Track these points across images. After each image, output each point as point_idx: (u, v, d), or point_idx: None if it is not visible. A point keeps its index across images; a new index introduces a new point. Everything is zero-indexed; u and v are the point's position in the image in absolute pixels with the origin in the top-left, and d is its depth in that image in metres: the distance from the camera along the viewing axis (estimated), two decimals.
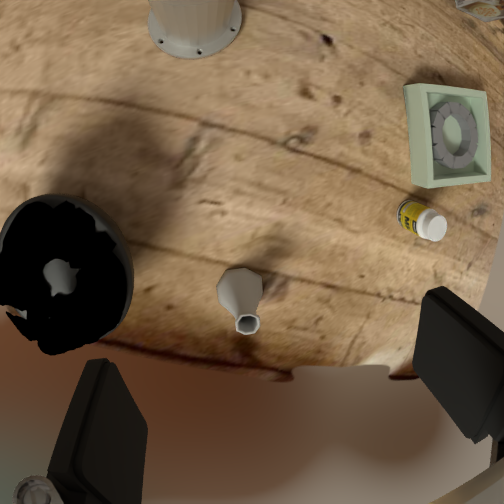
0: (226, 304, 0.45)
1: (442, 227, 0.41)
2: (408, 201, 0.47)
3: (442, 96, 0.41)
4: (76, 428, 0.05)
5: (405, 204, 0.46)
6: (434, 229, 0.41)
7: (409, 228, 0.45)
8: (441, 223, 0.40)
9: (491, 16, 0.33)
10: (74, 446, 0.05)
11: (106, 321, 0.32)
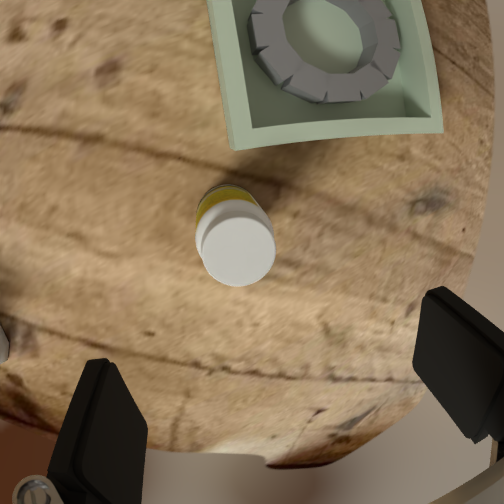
0: None
1: (256, 249, 0.17)
2: (218, 187, 0.23)
3: None
4: (76, 428, 0.05)
5: (207, 194, 0.23)
6: (227, 256, 0.17)
7: None
8: (252, 239, 0.17)
9: None
10: (74, 446, 0.05)
11: None
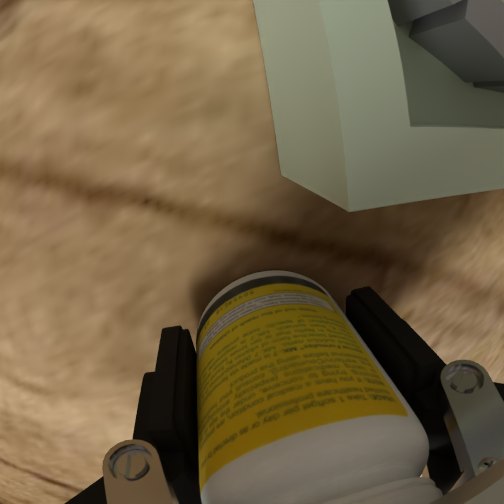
0: None
1: None
2: (252, 284, 0.09)
3: None
4: (169, 387, 0.06)
5: (223, 306, 0.08)
6: None
7: None
8: None
9: None
10: (172, 403, 0.06)
11: None
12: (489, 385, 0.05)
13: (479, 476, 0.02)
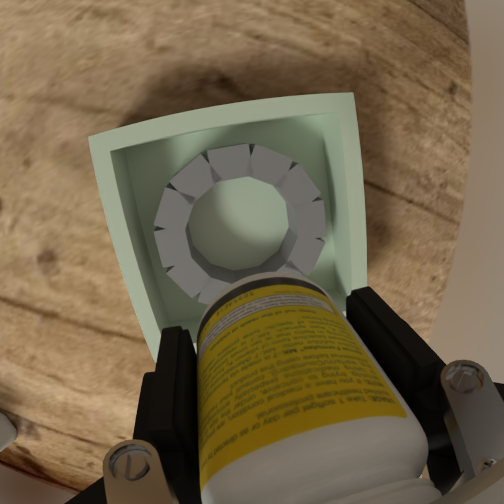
0: None
1: None
2: (252, 285, 0.09)
3: (217, 132, 0.20)
4: (169, 387, 0.06)
5: (223, 307, 0.08)
6: None
7: None
8: None
9: None
10: (172, 403, 0.06)
11: None
12: (489, 385, 0.05)
13: (479, 476, 0.02)
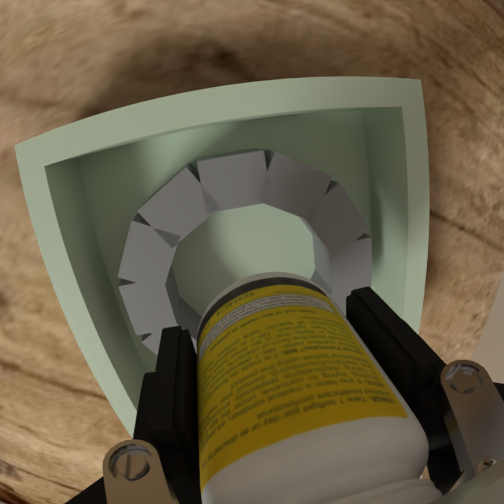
0: None
1: None
2: (252, 285, 0.09)
3: (214, 131, 0.13)
4: (169, 387, 0.06)
5: (223, 307, 0.08)
6: None
7: None
8: None
9: None
10: (173, 402, 0.06)
11: None
12: (489, 386, 0.05)
13: (479, 476, 0.02)
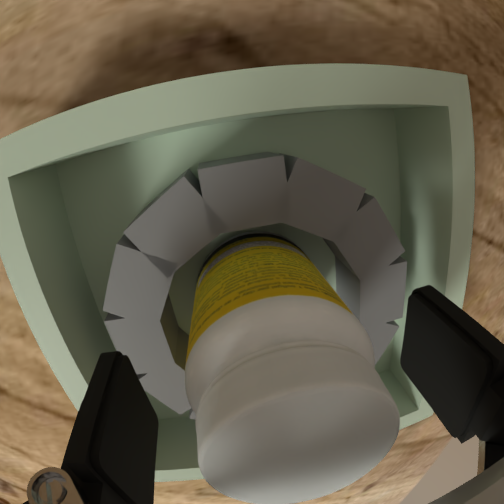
0: None
1: (350, 451, 0.05)
2: (247, 236, 0.11)
3: (218, 130, 0.11)
4: (92, 419, 0.05)
5: (223, 249, 0.11)
6: (269, 466, 0.05)
7: None
8: (349, 434, 0.05)
9: None
10: (91, 436, 0.05)
11: None
12: None
13: (479, 476, 0.02)
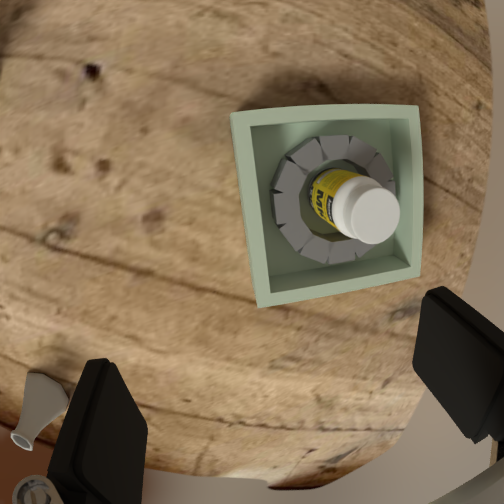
0: None
1: (387, 216, 0.20)
2: (333, 168, 0.26)
3: (319, 124, 0.26)
4: (76, 428, 0.05)
5: (325, 171, 0.26)
6: (368, 216, 0.20)
7: (323, 214, 0.25)
8: (387, 208, 0.20)
9: None
10: (74, 446, 0.05)
11: None
12: None
13: (479, 476, 0.02)
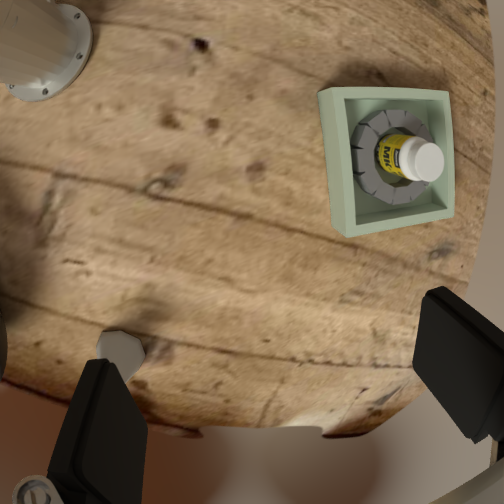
0: None
1: (437, 163, 0.27)
2: None
3: (380, 102, 0.32)
4: (76, 428, 0.05)
5: (388, 135, 0.33)
6: (425, 161, 0.27)
7: (389, 163, 0.31)
8: (437, 157, 0.27)
9: None
10: (74, 446, 0.05)
11: None
12: None
13: (479, 476, 0.02)
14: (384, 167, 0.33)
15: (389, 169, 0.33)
